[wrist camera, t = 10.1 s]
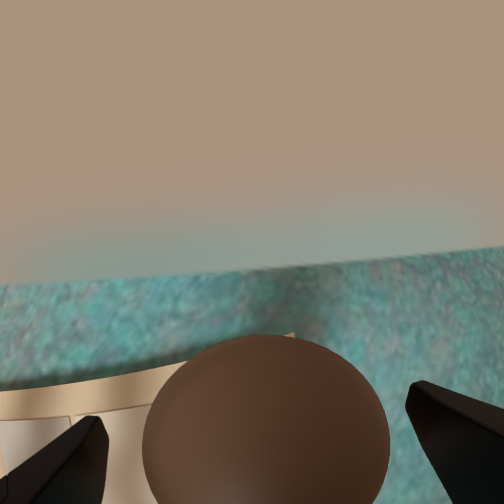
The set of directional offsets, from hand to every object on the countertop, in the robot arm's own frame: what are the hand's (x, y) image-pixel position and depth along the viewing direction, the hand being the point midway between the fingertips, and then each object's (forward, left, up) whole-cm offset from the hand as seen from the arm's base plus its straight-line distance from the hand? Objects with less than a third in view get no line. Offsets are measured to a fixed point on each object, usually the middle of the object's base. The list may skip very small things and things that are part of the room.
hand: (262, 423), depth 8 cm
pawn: (0, +1, -8) cm, 8 cm away
